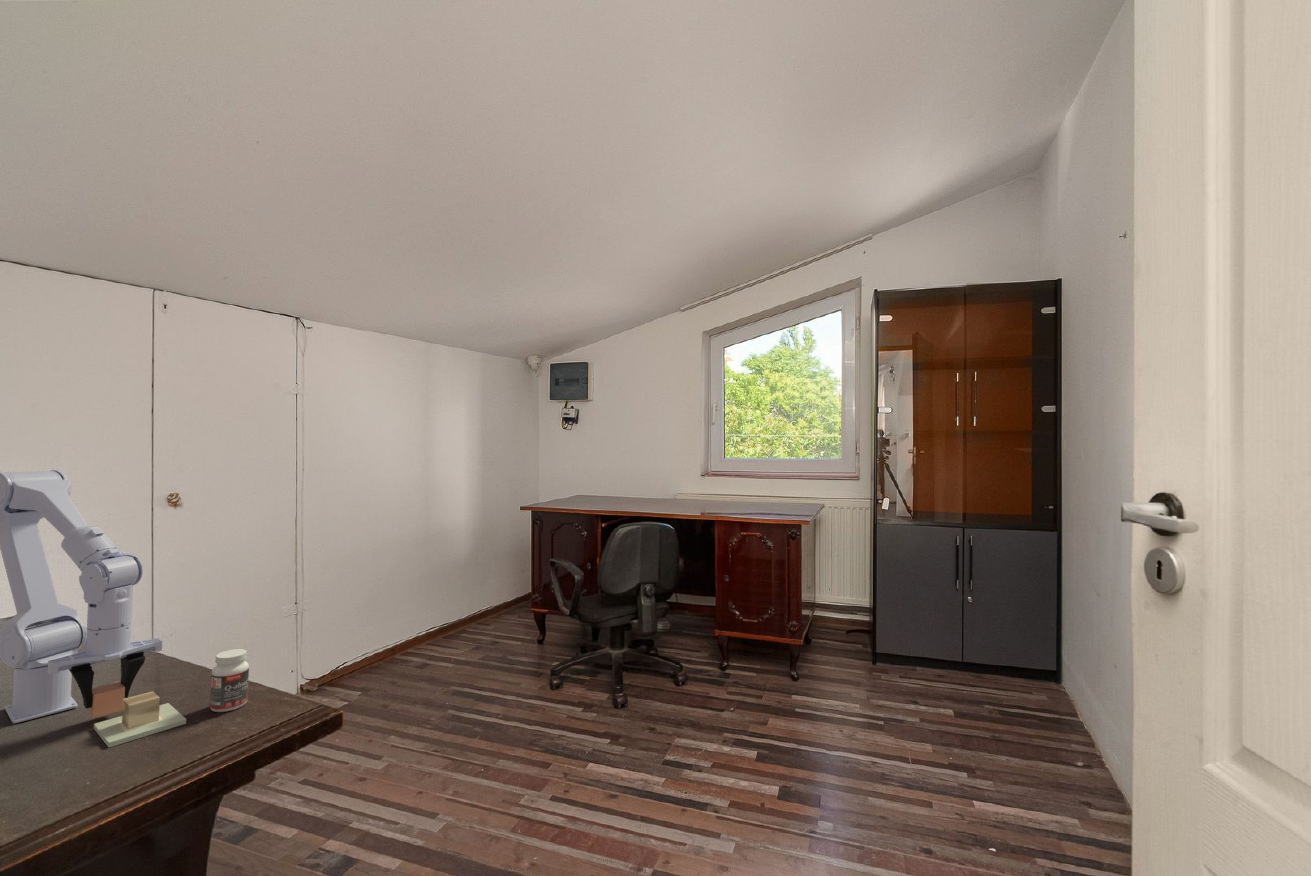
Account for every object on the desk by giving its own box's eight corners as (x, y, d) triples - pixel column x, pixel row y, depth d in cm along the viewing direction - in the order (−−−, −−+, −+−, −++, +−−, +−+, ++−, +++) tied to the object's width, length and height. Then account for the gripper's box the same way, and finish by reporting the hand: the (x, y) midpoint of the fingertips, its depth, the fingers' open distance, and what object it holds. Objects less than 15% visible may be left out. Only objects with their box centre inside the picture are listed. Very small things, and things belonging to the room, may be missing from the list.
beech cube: (122, 722, 98) (122, 699, 98) (152, 713, 101) (152, 691, 101) (128, 729, 95) (129, 705, 95) (158, 720, 99) (159, 697, 99)
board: (93, 728, 97) (93, 723, 97) (168, 707, 105) (168, 702, 105) (108, 747, 91) (108, 742, 91) (186, 723, 99) (186, 718, 99)
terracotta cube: (87, 711, 100) (88, 688, 100) (118, 703, 103) (118, 681, 103) (93, 718, 97) (94, 695, 97) (124, 709, 101) (125, 687, 101)
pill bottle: (227, 714, 103) (229, 660, 103) (201, 711, 104) (203, 657, 104) (255, 701, 109) (257, 649, 109) (230, 697, 110) (232, 646, 110)
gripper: (55, 641, 92) (51, 724, 92) (168, 620, 104) (165, 693, 104) (46, 631, 96) (43, 711, 96) (157, 612, 108) (153, 683, 108)
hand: (106, 701), depth 100 cm, fingers closed on terracotta cube, 4 cm apart
